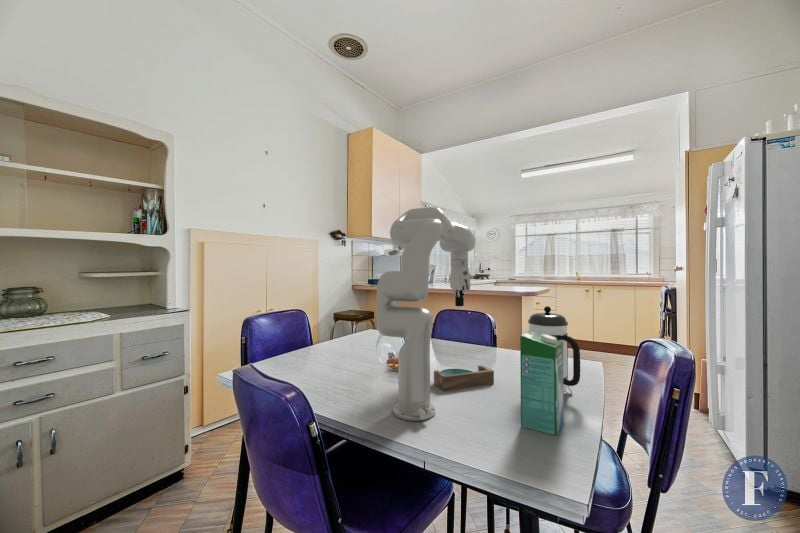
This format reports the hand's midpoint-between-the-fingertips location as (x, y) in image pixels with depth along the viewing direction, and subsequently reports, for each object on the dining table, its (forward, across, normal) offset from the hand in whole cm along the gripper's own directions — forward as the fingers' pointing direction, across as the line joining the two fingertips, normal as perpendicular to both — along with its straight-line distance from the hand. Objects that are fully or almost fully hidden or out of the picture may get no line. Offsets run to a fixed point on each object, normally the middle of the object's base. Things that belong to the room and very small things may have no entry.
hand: (459, 306), depth 144 cm
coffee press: (+27, -37, -15) cm, 48 cm away
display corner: (+27, -18, +9) cm, 34 cm away
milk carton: (+27, -54, +6) cm, 61 cm away
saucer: (+28, -13, +9) cm, 32 cm away
